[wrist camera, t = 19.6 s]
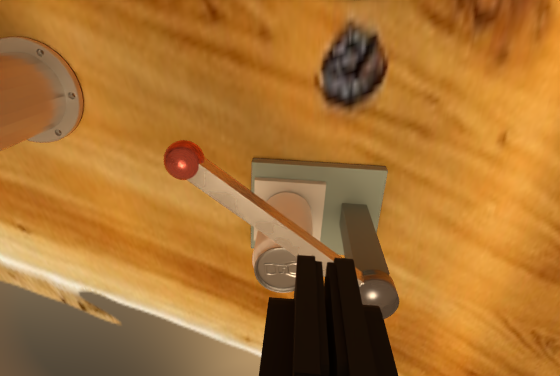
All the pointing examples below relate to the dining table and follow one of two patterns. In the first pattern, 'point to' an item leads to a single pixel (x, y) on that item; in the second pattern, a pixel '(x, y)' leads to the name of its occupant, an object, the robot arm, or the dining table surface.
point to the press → (331, 203)
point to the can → (271, 256)
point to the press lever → (270, 220)
